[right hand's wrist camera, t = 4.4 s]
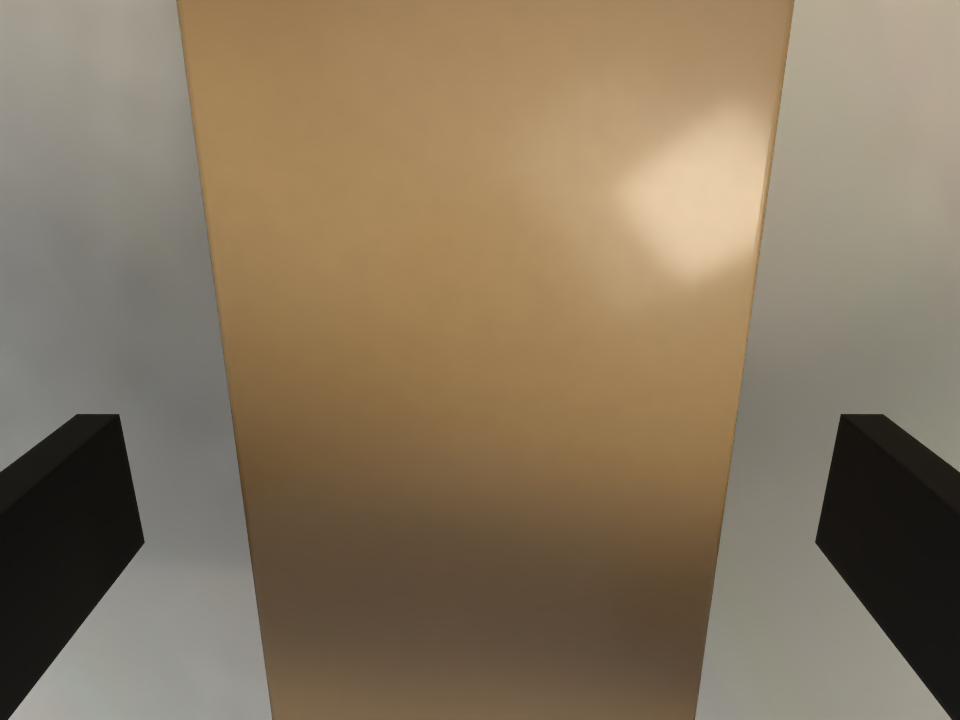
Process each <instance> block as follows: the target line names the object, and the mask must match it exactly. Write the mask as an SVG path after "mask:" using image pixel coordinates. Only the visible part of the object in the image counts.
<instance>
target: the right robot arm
mask: <svg viewBox="0 0 960 720" xmlns="http://www.w3.org/2000/svg"><path fill="white" fill-rule="evenodd" d="M144 543H145V541H144V536H143V531H142V526H141V521H140V516H139V511H138V506H137V501H136V496H135V491H134V486H133V481H132V476H131V471H130V466H129V461H128V456H127V451H126V446H125V441H124V436H123V431H122V426H121V421H120V416H119V414H77V415H75V416H74V417H73V418H71V419H70V420H69V421H67V422H66V423H65V424H63V425H62V426H61V427H60V428H58V429H57V430H56V431H54V432H53V433H52V434H50V435H49V436H48V437H46V438H45V439H44V440H42V441H41V442H40V443H38V444H37V445H36V446H34V447H33V448H32V449H31V450H29V451H28V452H27V453H25V454H24V455H23V456H21V457H20V458H19V459H17V460H16V461H15V462H13V463H12V464H11V465H9V466H8V467H7V468H5V469H4V470H3V471H2V472H0V720H8V719H9V718H10V716H11V715H12V714H13V713H14V711H15V710H16V709H17V707H18V706H19V705H20V703H21V702H22V701H23V700H24V698H25V697H26V696H27V694H28V693H29V692H30V691H31V689H32V688H33V687H34V685H35V684H36V683H37V681H38V680H39V679H40V678H41V676H42V675H43V674H44V672H45V671H46V670H47V668H48V667H49V666H50V665H51V663H52V662H53V661H54V659H55V658H56V657H57V656H58V654H59V653H60V652H61V650H62V649H63V648H64V646H65V645H66V644H67V643H68V641H69V640H70V639H71V637H72V636H73V635H74V634H75V632H76V631H77V630H78V628H79V627H80V626H81V624H82V623H83V622H84V621H85V619H86V618H87V617H88V615H89V614H90V613H91V612H92V610H93V609H94V608H95V606H96V605H97V604H98V602H99V601H100V600H101V599H102V597H103V596H104V595H105V593H106V592H107V591H108V590H109V588H110V587H111V586H112V584H113V583H114V582H115V580H116V579H117V578H118V577H119V575H120V574H121V573H122V571H123V570H124V569H125V568H126V566H127V565H128V564H129V562H130V561H131V560H132V558H133V557H134V556H135V555H136V553H137V552H138V551H139V549H140V548H141V547H142V545H143V544H144ZM815 543H816V544H817V545H818V547H819V548H820V549H821V551H822V552H823V553H824V555H825V556H826V557H827V558H828V560H829V561H830V562H831V564H832V565H833V566H834V568H835V569H836V570H837V571H838V573H839V574H840V575H841V577H842V578H843V579H844V580H845V582H846V583H847V584H848V586H849V587H850V588H851V590H852V591H853V592H854V593H855V595H856V596H857V597H858V599H859V600H860V601H861V602H862V604H863V605H864V606H865V608H866V609H867V610H868V612H869V613H870V614H871V615H872V617H873V618H874V619H875V621H876V622H877V623H878V624H879V626H880V627H881V628H882V630H883V631H884V632H885V634H886V635H887V636H888V637H889V639H890V640H891V641H892V643H893V644H894V645H895V646H896V648H897V649H898V650H899V652H900V653H901V654H902V656H903V657H904V658H905V659H906V661H907V662H908V663H909V665H910V666H911V667H912V668H913V670H914V671H915V672H916V674H917V675H918V676H919V678H920V679H921V680H922V681H923V683H924V684H925V685H926V687H927V688H928V689H929V691H930V692H931V693H932V694H933V696H934V697H935V698H936V700H937V701H938V702H939V703H940V705H941V706H942V707H943V709H944V710H945V711H946V713H947V714H948V715H949V716H950V718H951V719H952V720H960V472H958V471H957V470H956V469H955V468H953V467H952V466H951V465H949V464H948V463H947V462H945V461H944V460H943V459H941V458H940V457H939V456H937V455H936V454H935V453H933V452H932V451H931V450H929V449H928V448H927V447H926V446H924V445H923V444H922V443H920V442H919V441H918V440H916V439H915V438H914V437H912V436H911V435H910V434H908V433H907V432H906V431H904V430H903V429H902V428H900V427H899V426H898V425H897V424H895V423H894V422H893V421H891V420H890V419H889V418H887V417H886V416H885V415H883V414H841V416H840V421H839V426H838V431H837V436H836V441H835V446H834V451H833V456H832V461H831V466H830V471H829V476H828V481H827V486H826V491H825V496H824V501H823V506H822V511H821V516H820V521H819V526H818V531H817V536H816V541H815Z"/></svg>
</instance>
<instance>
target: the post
mask: <svg viewBox="0 0 960 720" xmlns="http://www.w3.org/2000/svg"><path fill="white" fill-rule="evenodd" d="M176 2H177V9H178V17H179V24H180V32H181V39H182V47H183V54H184V62H185V69H186V77H187V84H188V92H189V99H190V107H191V114H192V122H193V129H194V137H195V144H196V152H197V159H198V166H199V174H200V181H201V189H202V196H203V204H204V211H205V219H206V226H207V234H208V241H209V249H210V256H211V264H212V271H213V279H214V286H215V294H216V301H217V309H218V316H219V324H220V331H221V339H222V346H223V354H224V361H225V369H226V376H227V384H228V391H229V399H230V406H231V414H232V421H233V428H234V436H235V443H236V451H237V458H238V466H239V473H240V481H241V488H242V496H243V503H244V511H245V518H246V526H247V533H248V541H249V548H250V556H251V563H252V571H253V578H254V586H255V593H256V601H257V608H258V616H259V623H260V631H261V638H262V646H263V653H264V661H265V668H266V675H267V683H268V690H269V698H270V705H271V713H272V720H695V715H696V708H697V701H698V694H699V686H700V679H701V672H702V665H703V658H704V650H705V643H706V636H707V629H708V621H709V614H710V607H711V600H712V592H713V585H714V578H715V571H716V564H717V556H718V549H719V542H720V535H721V527H722V520H723V513H724V506H725V498H726V491H727V484H728V477H729V470H730V462H731V455H732V448H733V441H734V433H735V426H736V419H737V412H738V404H739V397H740V390H741V383H742V376H743V368H744V361H745V354H746V347H747V339H748V332H749V325H750V318H751V311H752V303H753V296H754V289H755V282H756V274H757V267H758V260H759V253H760V245H761V238H762V231H763V224H764V217H765V209H766V202H767V195H768V188H769V180H770V173H771V166H772V159H773V151H774V144H775V137H776V130H777V123H778V115H779V108H780V101H781V94H782V86H783V79H784V72H785V65H786V57H787V50H788V43H789V36H790V29H791V21H792V14H793V7H794V0H176Z"/></svg>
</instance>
